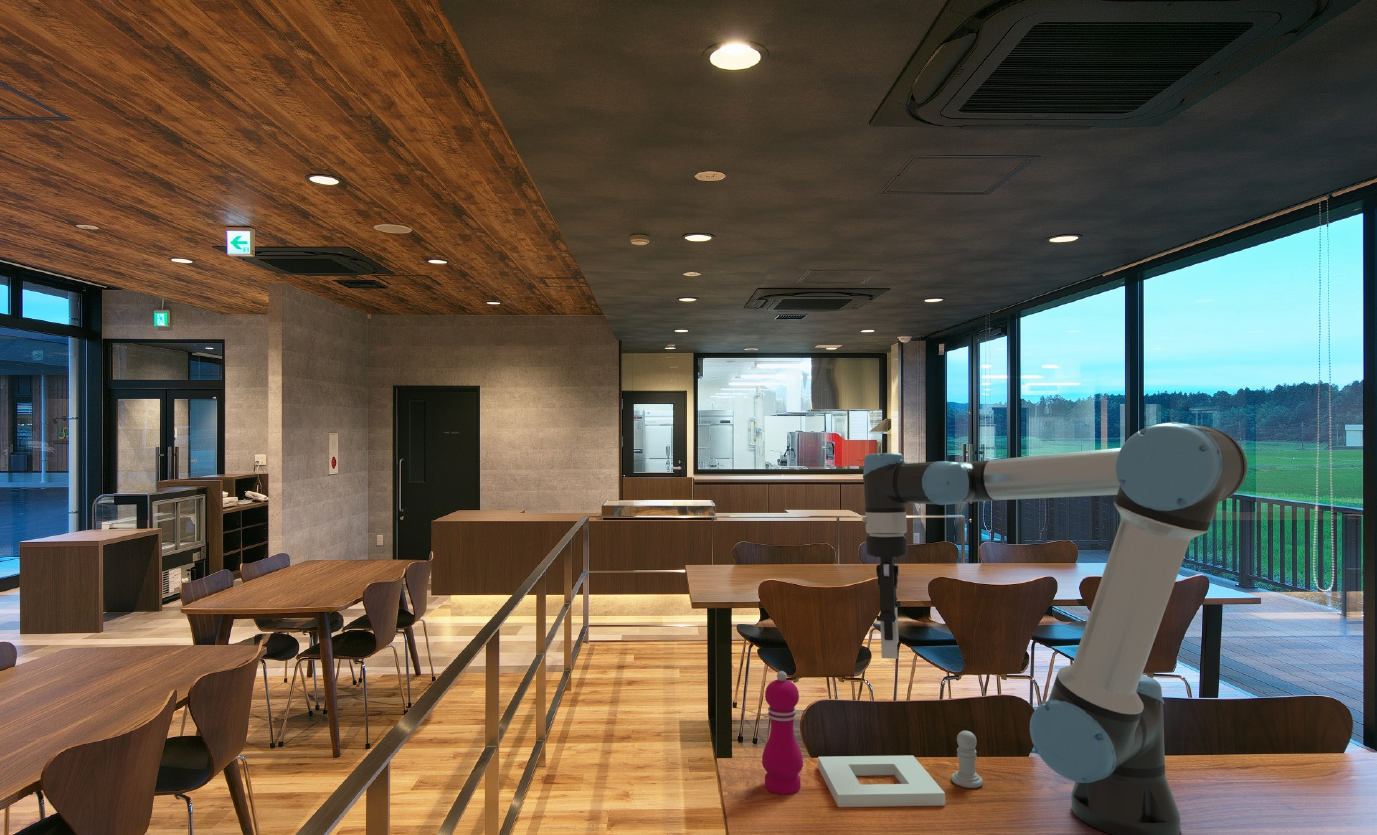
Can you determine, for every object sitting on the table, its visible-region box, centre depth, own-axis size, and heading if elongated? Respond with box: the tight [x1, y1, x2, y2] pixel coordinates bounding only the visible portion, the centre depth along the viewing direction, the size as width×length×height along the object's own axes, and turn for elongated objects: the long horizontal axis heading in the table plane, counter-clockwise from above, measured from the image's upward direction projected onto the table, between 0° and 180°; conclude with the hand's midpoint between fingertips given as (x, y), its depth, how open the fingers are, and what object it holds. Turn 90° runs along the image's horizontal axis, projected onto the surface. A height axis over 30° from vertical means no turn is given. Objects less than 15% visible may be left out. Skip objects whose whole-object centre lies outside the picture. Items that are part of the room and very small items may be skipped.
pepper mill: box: [761, 670, 804, 795], centre depth 132 cm, size 7×7×20 cm
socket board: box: [817, 755, 946, 808], centre depth 132 cm, size 18×16×2 cm
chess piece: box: [950, 730, 984, 789], centre depth 133 cm, size 5×5×9 cm
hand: (890, 649), depth 139 cm, fingers open, 13 cm apart
